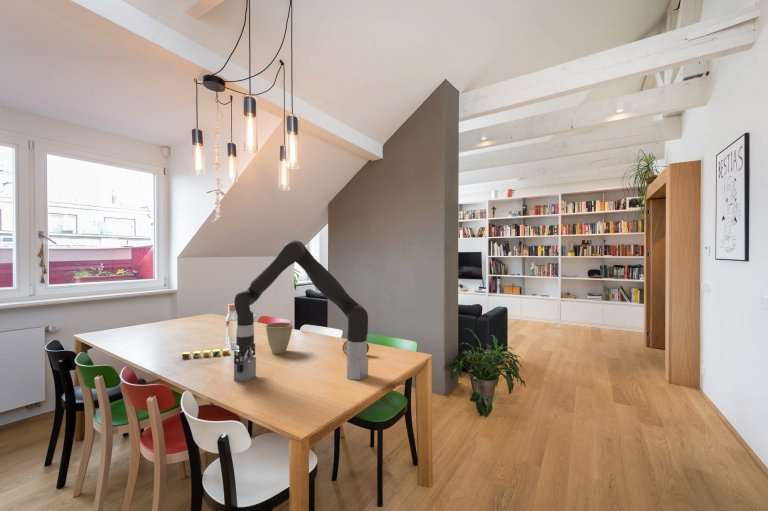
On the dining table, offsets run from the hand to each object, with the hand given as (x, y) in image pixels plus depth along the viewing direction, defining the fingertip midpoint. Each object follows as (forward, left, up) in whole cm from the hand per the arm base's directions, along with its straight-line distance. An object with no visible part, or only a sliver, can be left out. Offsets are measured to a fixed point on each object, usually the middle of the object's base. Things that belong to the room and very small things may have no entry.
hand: (244, 369), depth 153 cm
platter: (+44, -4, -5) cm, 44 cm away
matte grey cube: (0, 0, -4) cm, 4 cm away
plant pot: (+22, -34, -4) cm, 40 cm away
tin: (-16, -58, -4) cm, 60 cm away
